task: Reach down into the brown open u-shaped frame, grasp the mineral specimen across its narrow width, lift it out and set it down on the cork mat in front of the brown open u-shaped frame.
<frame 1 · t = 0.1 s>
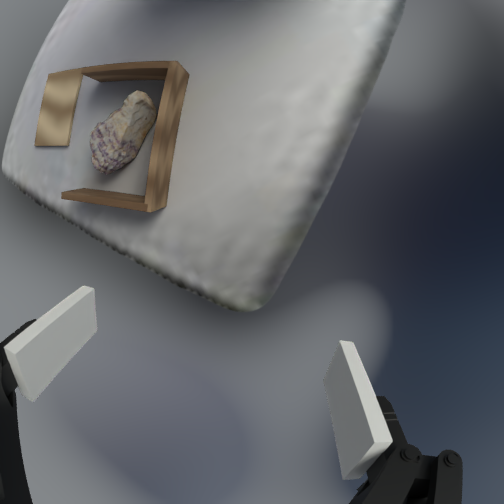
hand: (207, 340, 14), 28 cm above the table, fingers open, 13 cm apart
mineral specimen: (129, 135, 38), on the table
brown open u-shaped frame: (128, 135, 37), on the table
mat: (58, 107, 36), on the table
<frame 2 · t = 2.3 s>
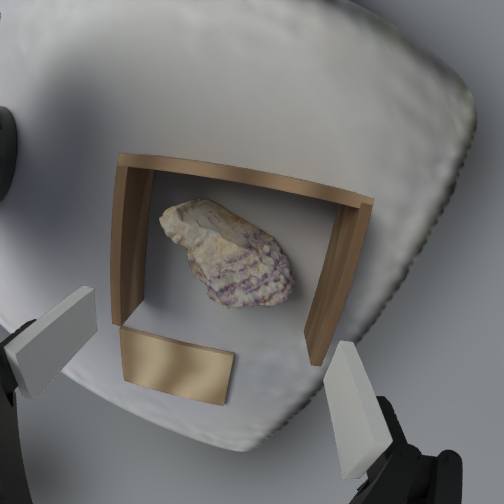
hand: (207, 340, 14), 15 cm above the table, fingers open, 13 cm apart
mineral specimen: (234, 248, 28), on the table
brown open u-shaped frame: (233, 251, 28), on the table
mat: (173, 368, 33), on the table
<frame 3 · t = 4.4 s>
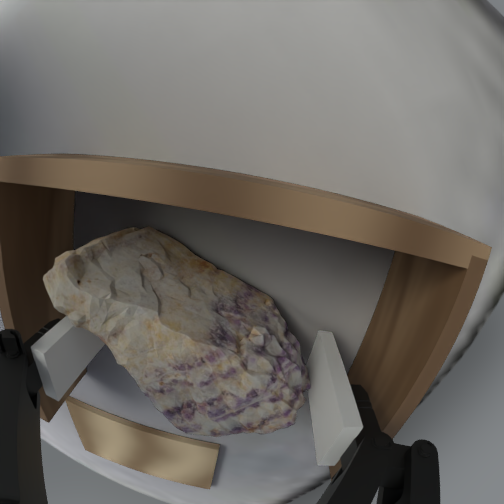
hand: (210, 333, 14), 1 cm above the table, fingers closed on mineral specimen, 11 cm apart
mineral specimen: (203, 311, 16), on the table, touching gripper
brown open u-shaped frame: (209, 320, 15), on the table
mat: (141, 449, 20), on the table
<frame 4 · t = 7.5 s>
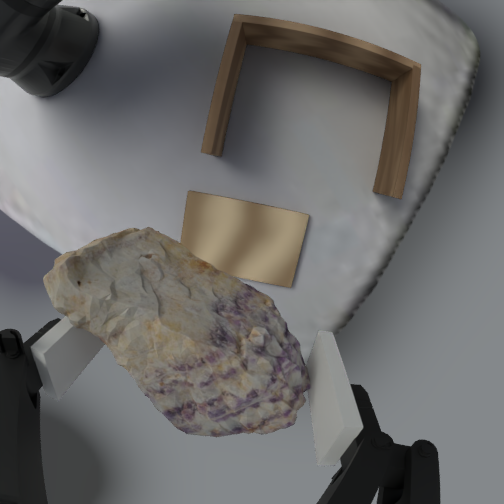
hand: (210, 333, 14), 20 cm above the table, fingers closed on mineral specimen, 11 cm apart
mineral specimen: (203, 311, 16), point 19 cm above the table, touching gripper
brown open u-shaped frame: (312, 110, 29), on the table
mat: (241, 239, 34), on the table
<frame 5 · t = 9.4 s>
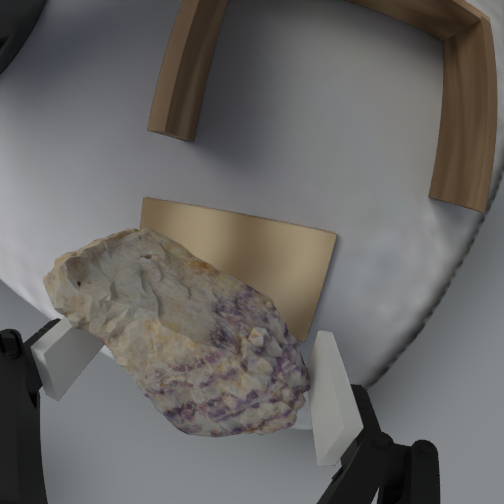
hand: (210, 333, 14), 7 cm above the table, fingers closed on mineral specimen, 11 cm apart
mineral specimen: (203, 312, 16), point 6 cm above the table, touching gripper
brown open u-shaped frame: (338, 68, 16), on the table
mat: (228, 272, 21), on the table
when the fingers open (4 cm above the table, at t = 11.0 s): mineral specimen drops 3 cm, resting on mat.
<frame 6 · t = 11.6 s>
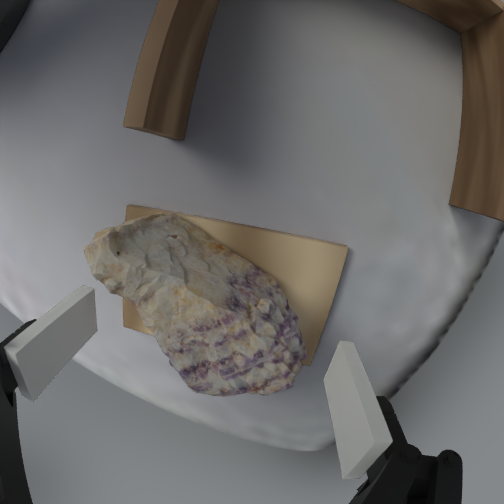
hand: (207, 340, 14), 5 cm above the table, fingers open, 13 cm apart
mineral specimen: (215, 289, 18), resting on mat
brown open u-shaped frame: (350, 57, 14), on the table
mat: (223, 290, 19), on the table
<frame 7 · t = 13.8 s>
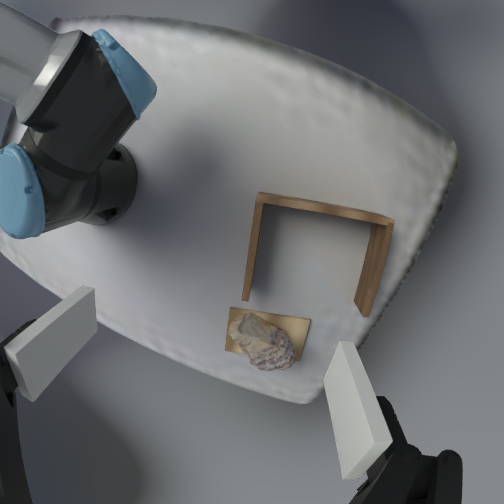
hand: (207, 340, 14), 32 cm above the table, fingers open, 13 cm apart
mineral specimen: (263, 335, 50), resting on mat
brown open u-shaped frame: (313, 251, 45), on the table
mat: (266, 335, 50), on the table
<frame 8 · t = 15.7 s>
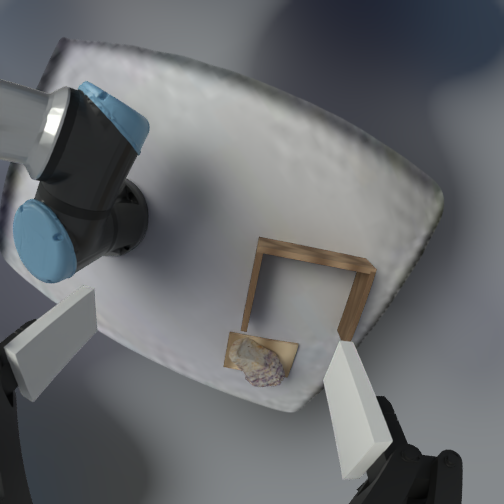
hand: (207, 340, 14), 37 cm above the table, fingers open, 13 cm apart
mineral specimen: (257, 355, 56), resting on mat
brown open u-shaped frame: (304, 289, 52), on the table
mat: (259, 355, 57), on the table
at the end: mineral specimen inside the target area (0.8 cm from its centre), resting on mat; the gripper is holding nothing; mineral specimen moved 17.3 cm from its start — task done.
